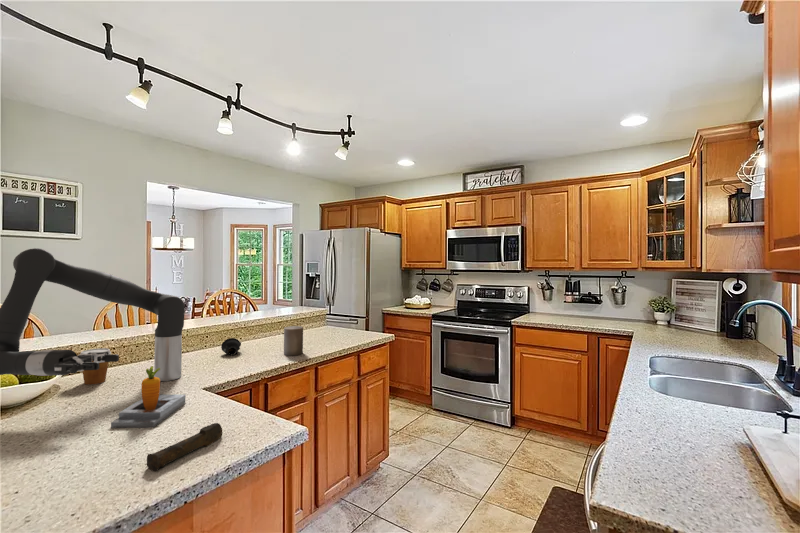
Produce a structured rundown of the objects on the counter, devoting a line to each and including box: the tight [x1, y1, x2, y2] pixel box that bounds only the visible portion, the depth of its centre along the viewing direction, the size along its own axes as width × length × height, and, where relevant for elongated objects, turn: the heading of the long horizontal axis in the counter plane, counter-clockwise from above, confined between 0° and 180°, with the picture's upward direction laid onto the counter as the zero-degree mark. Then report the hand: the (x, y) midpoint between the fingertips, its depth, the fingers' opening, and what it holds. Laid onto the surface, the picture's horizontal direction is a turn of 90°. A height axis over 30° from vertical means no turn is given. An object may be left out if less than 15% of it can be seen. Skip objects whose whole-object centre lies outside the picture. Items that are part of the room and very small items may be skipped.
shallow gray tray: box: [110, 393, 186, 429], centre depth 114 cm, size 18×12×3 cm, turn 5°
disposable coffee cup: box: [79, 347, 112, 386], centre depth 142 cm, size 10×10×12 cm
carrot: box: [141, 365, 161, 410], centre depth 114 cm, size 5×5×15 cm
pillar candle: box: [283, 325, 304, 357], centre depth 193 cm, size 10×10×15 cm
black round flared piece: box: [220, 337, 242, 356], centre depth 192 cm, size 9×11×18 cm
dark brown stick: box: [146, 422, 223, 472], centre depth 92 cm, size 19×4×5 cm, turn 153°
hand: (108, 361), depth 114 cm, fingers open, 8 cm apart
